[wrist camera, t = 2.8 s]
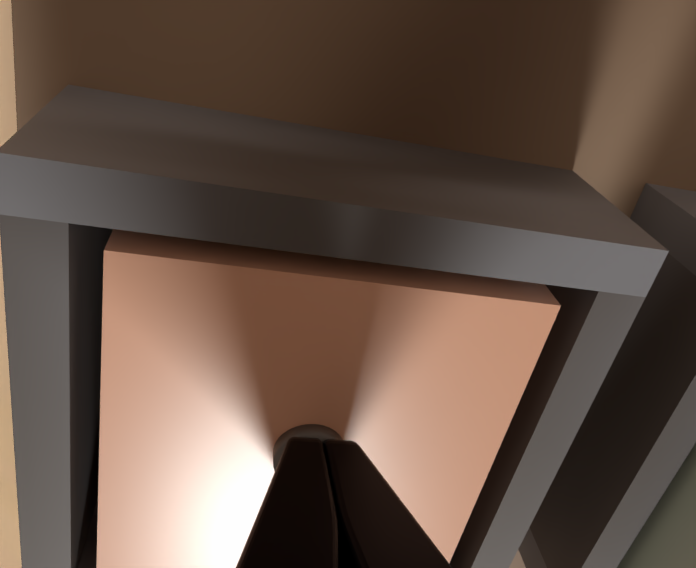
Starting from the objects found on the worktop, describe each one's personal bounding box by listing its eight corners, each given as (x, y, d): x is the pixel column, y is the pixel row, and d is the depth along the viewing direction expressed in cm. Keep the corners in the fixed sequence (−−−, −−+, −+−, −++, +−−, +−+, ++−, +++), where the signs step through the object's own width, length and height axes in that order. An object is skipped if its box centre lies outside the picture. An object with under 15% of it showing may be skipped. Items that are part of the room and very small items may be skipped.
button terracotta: (503, 230, 9) (568, 315, 7) (414, 480, 11) (445, 592, 10) (136, 177, 8) (98, 258, 6) (123, 463, 10) (92, 587, 8)
